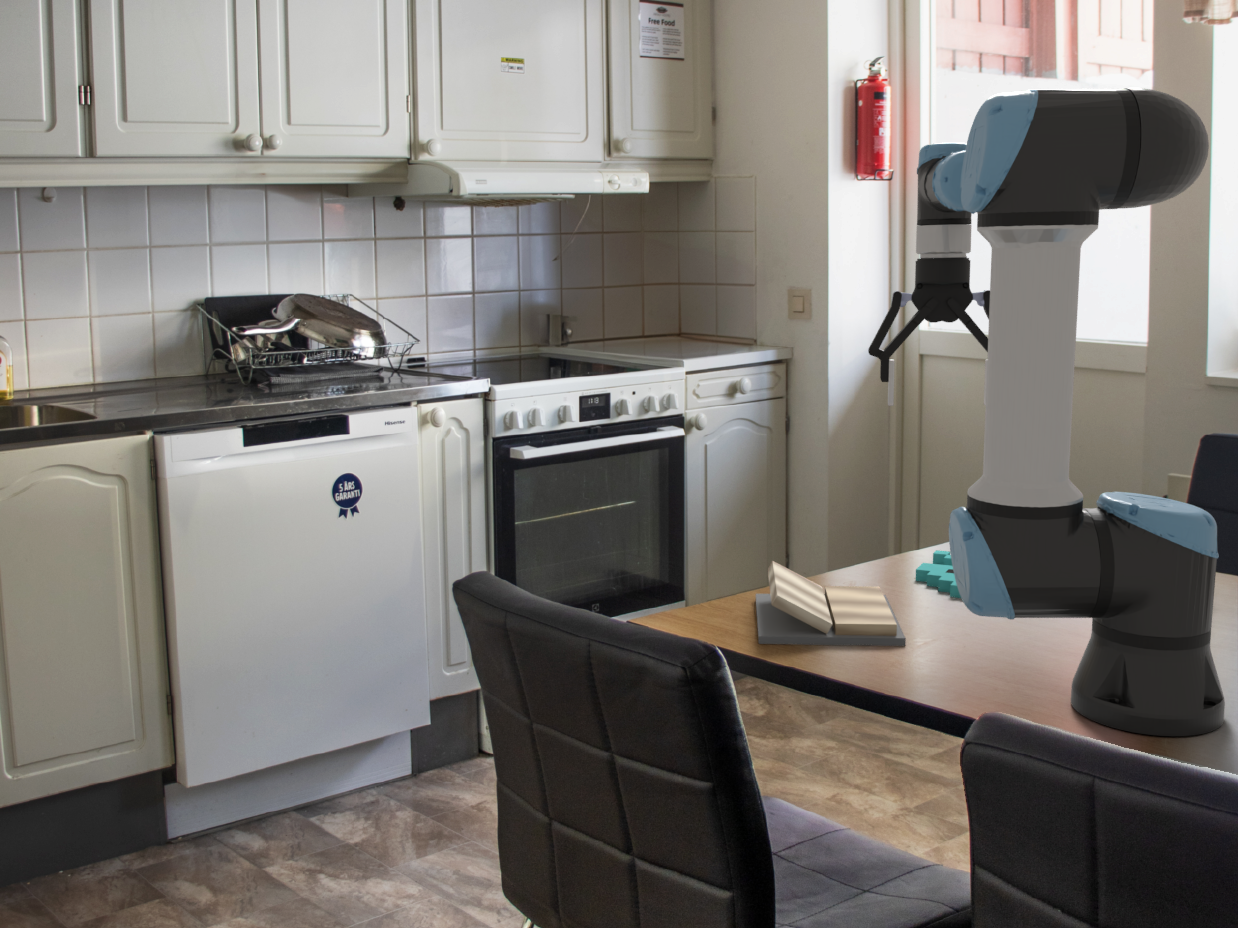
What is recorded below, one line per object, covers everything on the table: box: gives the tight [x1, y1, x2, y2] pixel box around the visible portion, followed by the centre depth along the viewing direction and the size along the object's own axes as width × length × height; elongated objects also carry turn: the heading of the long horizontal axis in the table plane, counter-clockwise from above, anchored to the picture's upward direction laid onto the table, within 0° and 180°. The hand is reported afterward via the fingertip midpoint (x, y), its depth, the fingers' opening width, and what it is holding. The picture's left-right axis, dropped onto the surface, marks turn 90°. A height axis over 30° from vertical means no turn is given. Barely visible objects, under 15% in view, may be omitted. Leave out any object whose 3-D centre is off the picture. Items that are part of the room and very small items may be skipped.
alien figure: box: [915, 550, 962, 599], centre depth 181 cm, size 20×2×20 cm
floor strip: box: [824, 585, 897, 636], centre depth 162 cm, size 18×8×2 cm, turn 175°
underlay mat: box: [755, 593, 907, 647], centre depth 162 cm, size 20×18×1 cm
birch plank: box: [767, 560, 833, 634], centre depth 162 cm, size 18×8×2 cm, turn 175°
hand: (938, 405), depth 173 cm, fingers open, 13 cm apart
